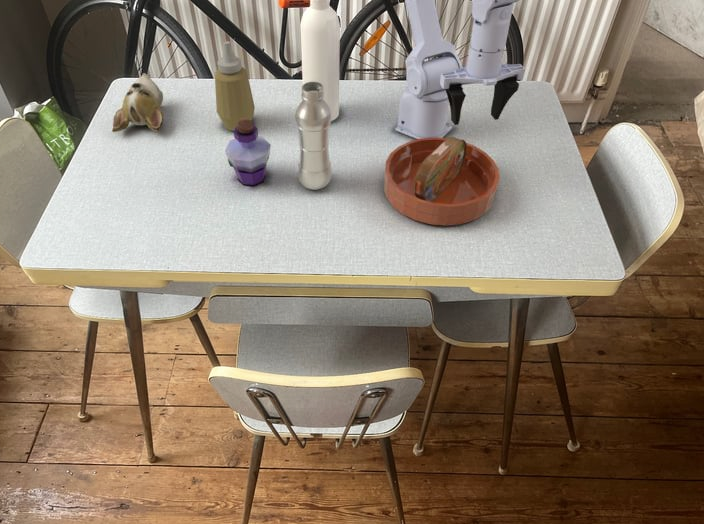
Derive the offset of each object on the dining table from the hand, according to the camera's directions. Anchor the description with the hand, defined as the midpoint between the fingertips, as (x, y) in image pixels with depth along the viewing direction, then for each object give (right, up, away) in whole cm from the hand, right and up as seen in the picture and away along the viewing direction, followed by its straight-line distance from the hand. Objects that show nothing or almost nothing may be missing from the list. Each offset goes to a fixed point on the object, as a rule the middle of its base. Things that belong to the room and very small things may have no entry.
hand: (474, 119), depth 105 cm
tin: (-6, -12, +3) cm, 14 cm away
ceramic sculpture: (-67, +6, +20) cm, 70 cm away
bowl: (-6, -13, +3) cm, 14 cm away
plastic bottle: (-29, -11, +5) cm, 32 cm away
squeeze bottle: (-46, +4, +19) cm, 50 cm away
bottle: (-28, +7, +21) cm, 36 cm away
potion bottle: (-42, -10, +6) cm, 43 cm away
